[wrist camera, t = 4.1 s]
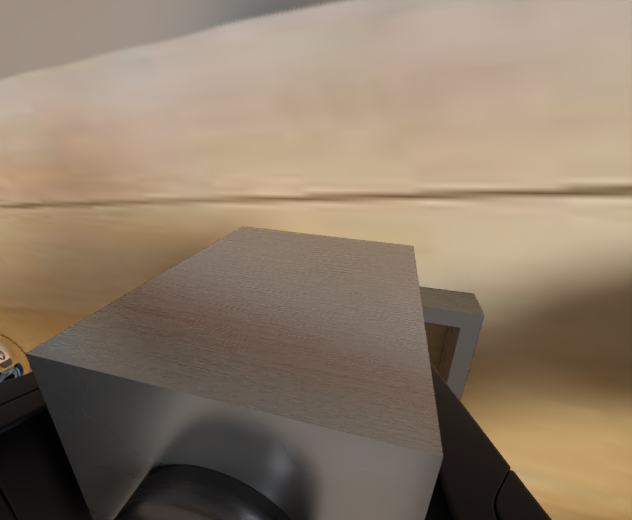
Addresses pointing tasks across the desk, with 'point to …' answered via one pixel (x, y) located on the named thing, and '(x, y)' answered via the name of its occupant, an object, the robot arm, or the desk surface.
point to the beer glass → (12, 360)
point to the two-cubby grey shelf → (454, 331)
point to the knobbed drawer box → (253, 387)
